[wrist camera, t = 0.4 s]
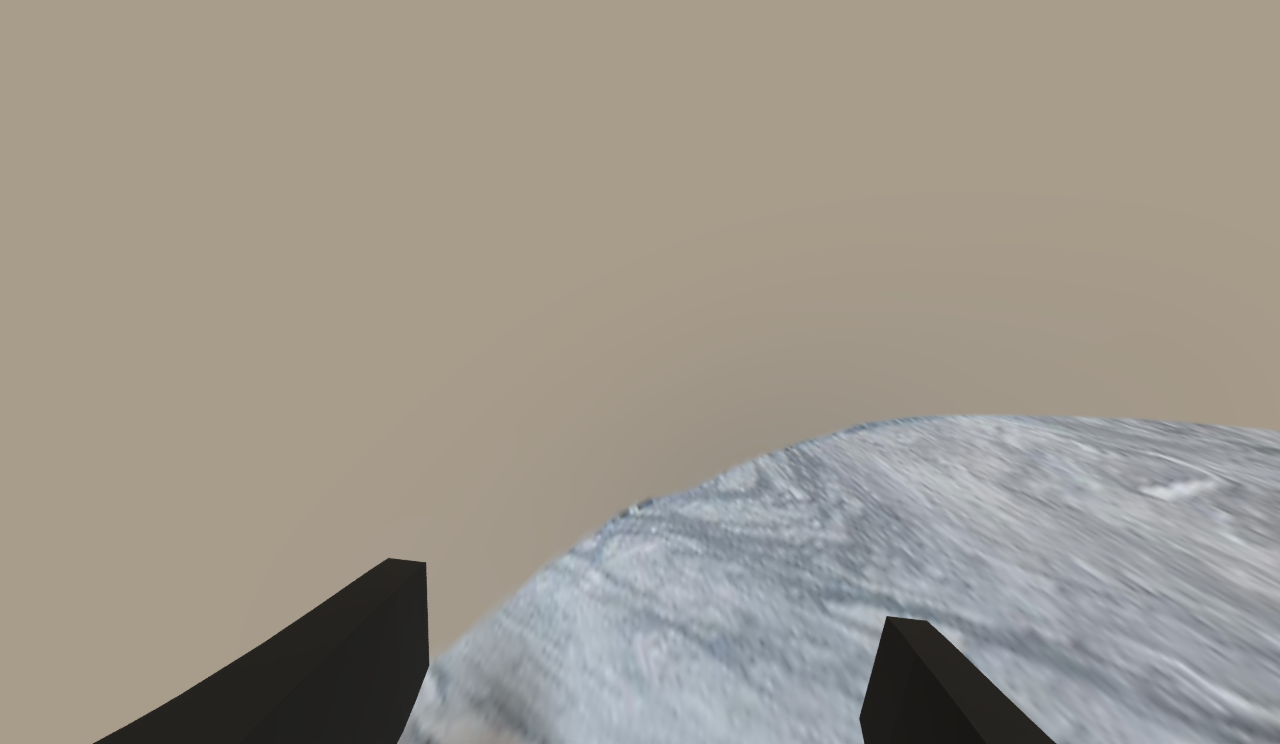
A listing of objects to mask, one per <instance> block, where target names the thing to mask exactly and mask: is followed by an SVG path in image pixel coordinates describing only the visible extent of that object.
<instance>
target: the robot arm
mask: <svg viewBox="0 0 1280 744" xmlns="http://www.w3.org/2000/svg"><path fill="white" fill-rule="evenodd" d="M428 667H429V642H428V609H427V577H426V562H417V561H409V560H400V559H391V558H388V559H386V560H385V561H383V562H382V563H380V564H379V565H377V566H375V567H374V568H373V569H371V570H369V571H368V572H367V573H365V574H364V575H362V576H361V577H359V578H358V579H356V580H355V581H353V582H352V583H351V584H349V585H348V586H346V587H345V588H343V589H342V590H340V591H339V592H338V593H336V594H335V595H333V596H332V597H330V598H329V599H327V600H326V601H325V602H323V603H322V604H320V605H319V606H317V607H316V608H314V609H313V610H312V611H310V612H309V613H307V614H306V615H304V616H303V617H301V618H300V619H298V620H297V621H295V622H294V623H292V624H291V625H289V626H288V627H286V628H285V629H283V630H282V631H280V632H279V633H277V634H276V635H274V636H273V637H272V638H270V639H268V640H267V641H266V642H264V643H263V644H261V645H259V646H258V647H256V648H255V649H253V650H251V651H250V652H248V653H247V654H245V655H243V656H242V657H240V658H238V659H237V660H235V661H234V662H232V663H231V664H229V665H228V666H226V667H224V668H222V669H221V670H219V671H218V672H216V673H214V674H213V675H211V676H210V677H208V678H206V679H205V680H203V681H202V682H200V683H198V684H197V685H195V686H194V687H192V688H190V689H189V690H187V691H186V692H184V693H183V694H181V695H179V696H177V697H176V698H174V699H172V700H170V701H169V702H167V703H165V704H164V705H162V706H160V707H159V708H157V709H155V710H153V711H151V712H150V713H148V714H146V715H144V716H143V717H141V718H139V719H137V720H136V721H134V722H132V723H130V724H128V725H127V726H125V727H123V728H121V729H119V730H117V731H116V732H114V733H112V734H110V735H108V736H106V737H104V738H103V739H101V740H99V741H97V742H95V743H93V744H397V742H398V741H399V739H400V737H401V735H402V733H403V730H404V728H405V726H406V723H407V721H408V718H409V716H410V713H411V711H412V709H413V706H414V704H415V701H416V699H417V696H418V693H419V691H420V688H421V686H422V683H423V680H424V678H425V675H426V673H427V670H428ZM859 719H860V724H861V729H862V734H863V739H864V744H1056V743H1055V742H1054V741H1053V740H1052V739H1051V738H1050V737H1048V736H1047V735H1046V734H1045V733H1044V732H1043V731H1042V730H1041V729H1040V728H1039V727H1038V726H1037V725H1036V724H1035V723H1034V722H1033V721H1031V720H1030V719H1029V718H1028V717H1027V716H1026V715H1025V714H1024V713H1023V712H1022V711H1021V710H1020V709H1019V708H1018V707H1017V706H1016V705H1015V704H1014V703H1013V702H1012V701H1011V700H1010V699H1008V698H1007V697H1006V696H1005V695H1004V694H1003V693H1002V692H1001V691H1000V690H999V689H998V688H997V687H996V686H995V685H994V684H993V683H992V682H991V681H990V680H989V679H988V678H987V677H986V676H985V675H984V674H983V673H982V672H981V671H980V670H979V669H978V668H976V667H975V666H974V665H973V664H972V663H971V662H970V661H969V660H968V659H967V658H966V657H965V656H964V655H963V654H962V653H961V652H960V651H959V650H958V649H957V648H956V647H955V646H954V645H953V644H952V643H951V642H950V641H948V640H947V639H946V638H945V637H944V636H943V635H942V634H941V633H940V632H939V631H938V630H937V629H936V628H934V627H933V626H932V625H931V624H930V623H929V622H928V621H924V620H915V619H907V618H898V617H889V616H887V617H886V621H885V624H884V628H883V632H882V635H881V639H880V643H879V647H878V650H877V654H876V658H875V662H874V665H873V669H872V673H871V677H870V680H869V684H868V688H867V691H866V695H865V699H864V703H863V706H862V710H861V714H860V718H859Z"/></svg>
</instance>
